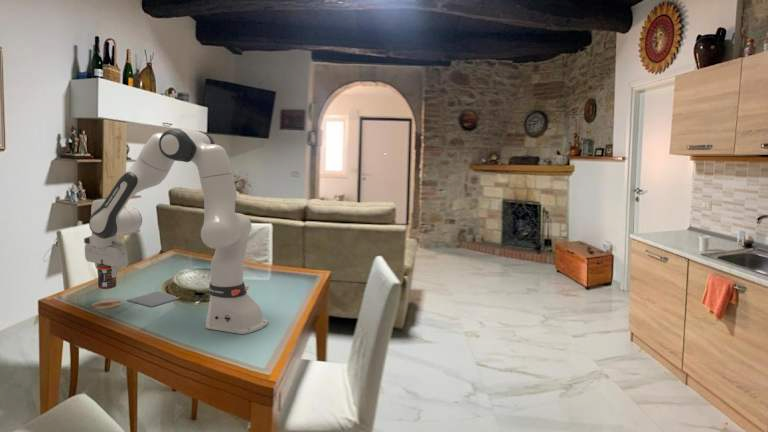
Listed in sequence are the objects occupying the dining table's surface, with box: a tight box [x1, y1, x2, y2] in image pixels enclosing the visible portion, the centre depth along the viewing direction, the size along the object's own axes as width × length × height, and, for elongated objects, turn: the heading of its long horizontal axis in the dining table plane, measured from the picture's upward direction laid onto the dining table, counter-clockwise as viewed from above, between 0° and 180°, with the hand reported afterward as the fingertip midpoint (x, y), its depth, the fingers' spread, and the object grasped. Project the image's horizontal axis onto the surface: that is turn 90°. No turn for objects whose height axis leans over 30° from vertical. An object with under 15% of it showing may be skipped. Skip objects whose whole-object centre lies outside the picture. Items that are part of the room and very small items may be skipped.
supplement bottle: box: [97, 259, 117, 290], centre depth 174 cm, size 6×6×11 cm
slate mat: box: [126, 290, 180, 308], centre depth 184 cm, size 14×14×1 cm
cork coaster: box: [90, 299, 123, 310], centre depth 175 cm, size 10×10×1 cm
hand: (107, 275), depth 174 cm, fingers closed on supplement bottle, 6 cm apart
